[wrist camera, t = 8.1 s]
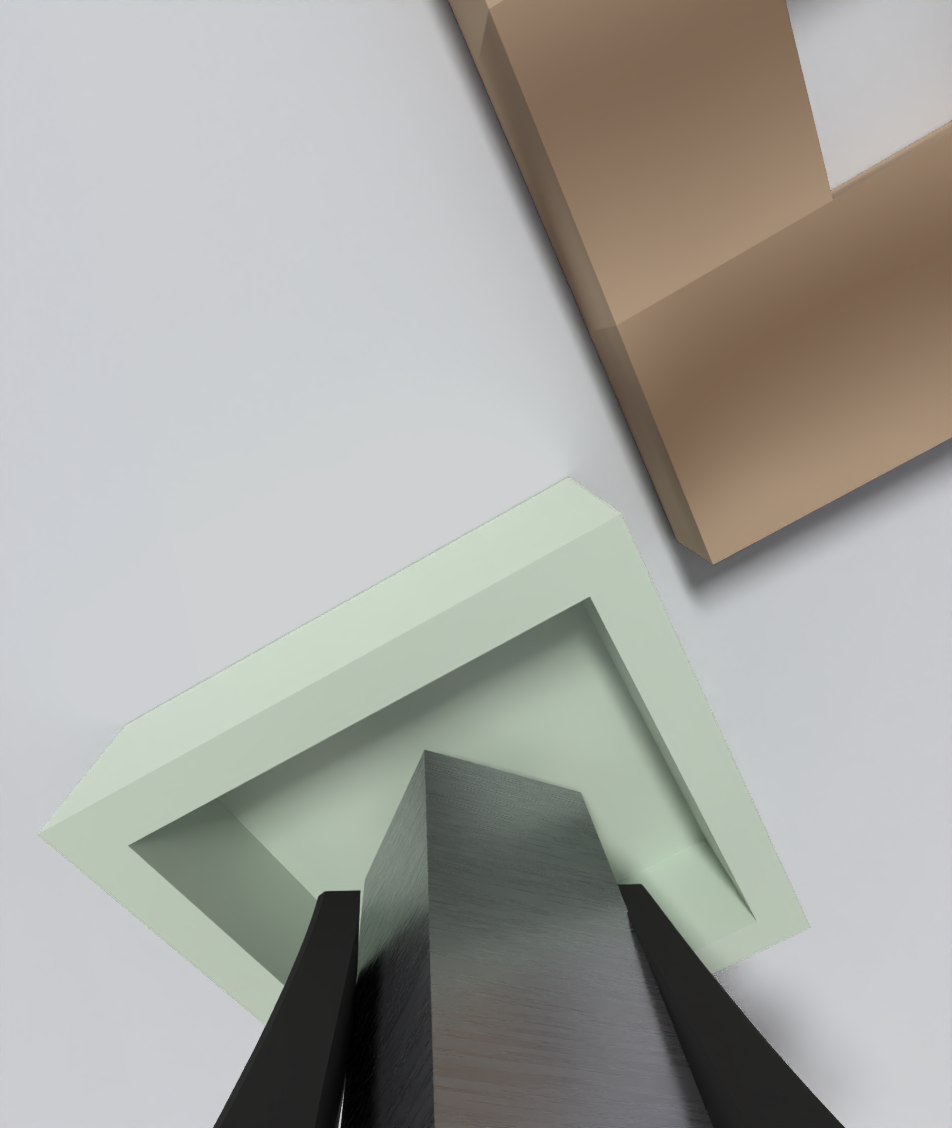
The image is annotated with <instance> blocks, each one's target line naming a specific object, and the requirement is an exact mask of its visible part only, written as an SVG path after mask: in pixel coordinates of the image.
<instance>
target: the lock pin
mask: <svg viewBox="0 0 952 1128" xmlns="http://www.w3.org/2000/svg"><path fill="white" fill-rule="evenodd" d="M627 912H628V910H627V908H626V905H625V903H624V900H623V898H622V895H621V892H620V890H619V887H618V885H617V882H616V880H615V877H614V875H613V872H612V870H611V867H610V865H609V862H608V860H607V857H606V854H605V852H604V849H603V847H602V844H601V842H600V839H599V837H598V834H597V832H596V829H595V827H594V824H593V822H592V819H591V816H590V814H589V811H588V809H587V806H586V804H585V801H584V799H583V796H582V794H581V792H578V791H574V790H570V789H567V788H563V787H559V786H556V785H552V784H548V783H545V782H541V781H537V780H534V779H530V778H526V777H523V776H519V775H516V774H512V773H508V772H505V771H501V770H497V769H494V768H490V767H486V766H483V765H479V764H475V763H472V762H468V761H464V760H461V759H457V758H454V757H450V756H446V755H443V754H439V753H435V752H432V751H428V750H424V752H423V754H422V756H421V758H420V760H419V762H418V765H417V767H416V769H415V771H414V773H413V775H412V778H411V780H410V782H409V784H408V786H407V788H406V791H405V793H404V795H403V797H402V799H401V802H400V804H399V806H398V808H397V810H396V812H395V815H394V817H393V819H392V821H391V823H390V825H389V828H388V830H387V832H386V834H385V836H384V838H383V841H382V843H381V845H380V847H379V849H378V851H377V854H376V856H375V858H374V860H373V862H372V865H371V867H370V869H369V871H368V873H367V875H366V878H365V882H364V892H363V903H362V913H361V923H360V933H359V945H358V971H357V983H356V994H355V1004H354V1015H353V1026H352V1036H351V1043H350V1050H349V1056H348V1063H347V1069H346V1078H345V1088H344V1099H343V1109H342V1119H341V1128H713V1126H712V1123H711V1121H710V1118H709V1116H708V1113H707V1111H706V1108H705V1105H704V1103H703V1100H702V1098H701V1095H700V1093H699V1090H698V1088H697V1085H696V1083H695V1080H694V1078H693V1075H692V1072H691V1070H690V1067H689V1065H688V1062H687V1060H686V1057H685V1055H684V1052H683V1050H682V1047H681V1045H680V1042H679V1040H678V1037H677V1034H676V1032H675V1029H674V1027H673V1024H672V1022H671V1019H670V1017H669V1014H668V1012H667V1009H666V1007H665V1004H664V1002H663V999H662V996H661V994H660V991H659V989H658V986H657V984H656V981H655V979H654V976H653V974H652V971H651V969H650V966H649V963H648V961H647V958H646V956H645V954H644V952H643V950H642V947H641V945H640V943H639V941H638V939H637V937H636V934H635V932H634V930H633V928H632V925H631V922H630V920H629V917H628V915H627Z"/></svg>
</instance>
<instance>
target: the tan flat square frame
mask: <svg viewBox="0 0 952 1128" xmlns="http://www.w3.org/2000/svg"><path fill="white" fill-rule="evenodd" d="M448 1H449V3H450V6H451V8H452V10H453V13H454V15H455V17H456V20H457V22H458V25H459V27H460V29H461V32H462V34H463V36H464V39H465V41H466V43H467V46H468V48H469V51H470V53H471V55H472V58H473V60H474V62H475V65H476V67H477V69H478V72H479V74H480V76H481V79H482V81H483V84H484V86H485V88H486V91H487V93H488V95H489V98H490V100H491V102H492V105H493V107H494V110H495V112H496V114H497V117H498V119H499V121H500V124H501V126H502V128H503V131H504V133H505V136H506V138H507V140H508V143H509V145H510V147H511V150H512V152H513V154H514V157H515V159H516V161H517V164H518V166H519V169H520V171H521V173H522V176H523V178H524V180H525V183H526V185H527V187H528V190H529V192H530V195H531V197H532V199H533V202H534V204H535V206H536V209H537V211H538V213H539V216H540V218H541V220H542V223H543V225H544V228H545V230H546V232H547V235H548V237H549V239H550V242H551V244H552V246H553V249H554V251H555V254H556V256H557V258H558V261H559V263H560V265H561V268H562V270H563V272H564V275H565V277H566V279H567V282H568V284H569V287H570V289H571V291H572V294H573V296H574V298H575V301H576V303H577V305H578V308H579V310H580V313H581V315H582V317H583V320H584V322H585V324H586V327H587V329H588V331H589V334H590V336H591V338H592V341H593V343H594V346H595V348H596V350H597V353H598V355H599V357H600V360H601V362H602V364H603V367H604V369H605V372H606V374H607V376H608V379H609V381H610V383H611V386H612V388H613V390H614V393H615V395H616V398H617V400H618V402H619V405H620V407H621V409H622V412H623V414H624V416H625V419H626V421H627V423H628V426H629V428H630V431H631V433H632V435H633V438H634V440H635V442H636V445H637V447H638V449H639V452H640V454H641V457H642V459H643V461H644V464H645V466H646V468H647V471H648V473H649V475H650V478H651V480H652V482H653V485H654V487H655V490H656V492H657V494H658V497H659V499H660V501H661V504H662V506H663V508H664V511H665V513H666V516H667V518H668V520H669V523H670V525H671V527H672V530H673V532H674V534H675V537H676V539H677V541H678V542H679V543H680V544H682V545H683V546H685V547H687V548H688V549H690V550H691V551H693V552H694V553H696V554H697V555H699V556H700V557H702V558H703V559H705V560H706V561H708V562H709V563H711V564H712V565H714V564H716V563H718V562H719V561H721V560H723V559H725V558H727V557H729V556H731V555H733V554H734V553H736V552H738V551H740V550H742V549H744V548H746V547H747V546H749V545H751V544H753V543H755V542H757V541H759V540H761V539H762V538H764V537H766V536H768V535H770V534H772V533H774V532H776V531H777V530H779V529H781V528H783V527H785V526H787V525H789V524H791V523H792V522H794V521H796V520H798V519H800V518H802V517H804V516H806V515H807V514H809V513H811V512H813V511H815V510H817V509H819V508H821V507H822V506H824V505H826V504H828V503H830V502H832V501H834V500H836V499H837V498H839V497H841V496H843V495H845V494H847V493H849V492H851V491H852V490H854V489H856V488H858V487H860V486H862V485H864V484H865V483H867V482H869V481H871V480H873V479H875V478H877V477H879V476H880V475H882V474H884V473H886V472H888V471H890V470H892V469H894V468H895V467H897V466H899V465H901V464H903V463H905V462H907V461H909V460H910V459H912V458H914V457H916V456H918V455H920V454H922V453H924V452H925V451H927V450H929V449H931V448H933V447H935V446H937V445H939V444H940V443H942V442H944V441H946V440H948V439H950V438H952V121H950V122H948V123H947V124H945V125H943V126H942V127H940V128H938V129H936V130H935V131H933V132H931V133H929V134H928V135H926V136H924V137H923V138H921V139H919V140H917V141H916V142H914V143H912V144H911V145H909V146H907V147H905V148H904V149H902V150H900V151H898V152H897V153H895V154H893V155H892V156H890V157H888V158H886V159H885V160H883V161H881V162H880V163H878V164H876V165H874V166H873V167H871V168H869V169H867V170H866V171H864V172H862V173H861V174H859V175H857V176H855V177H854V178H852V179H850V180H849V181H847V182H845V183H843V184H842V185H840V186H838V187H836V188H835V189H833V190H830V186H829V182H828V178H827V173H826V169H825V165H824V161H823V157H822V152H821V148H820V144H819V140H818V136H817V131H816V127H815V123H814V119H813V115H812V111H811V106H810V102H809V98H808V94H807V90H806V85H805V81H804V77H803V73H802V69H801V65H800V60H799V56H798V52H797V48H796V44H795V39H794V35H793V31H792V27H791V23H790V18H789V14H788V10H787V6H786V2H785V0H448Z"/></svg>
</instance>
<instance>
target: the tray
mask: <svg viewBox="0 0 952 1128" xmlns="http://www.w3.org/2000/svg"><path fill="white" fill-rule="evenodd" d="M424 750H428V751H432V752H435V753H439V754H443V755H446V756H450V757H454V758H457V759H461V760H464V761H468V762H472V763H475V764H479V765H483V766H486V767H490V768H494V769H497V770H501V771H505V772H508V773H512V774H516V775H519V776H523V777H526V778H530V779H534V780H537V781H541V782H545V783H548V784H552V785H556V786H559V787H563V788H567V789H570V790H574V791H578V792H581V794H582V796H583V799H584V801H585V804H586V806H587V809H588V811H589V814H590V816H591V819H592V822H593V824H594V827H595V829H596V832H597V834H598V837H599V839H600V842H601V844H602V847H603V849H604V852H605V854H606V857H607V860H608V862H609V865H610V867H611V870H612V872H613V875H614V877H615V880H616V882H617V884H642V885H643V886H644V887H645V888H646V890H647V891H648V892H649V894H650V895H651V896H652V897H653V899H654V900H655V901H656V903H657V904H658V905H659V907H660V908H661V909H662V911H663V912H664V913H665V915H666V916H667V917H668V919H669V920H670V921H671V922H672V924H673V925H674V926H675V928H676V929H677V930H678V932H679V933H680V934H681V936H682V937H683V938H684V939H685V941H686V942H687V943H688V945H689V946H690V947H691V948H692V950H693V951H694V952H695V954H696V955H697V956H698V957H699V959H700V960H701V961H702V963H703V964H704V965H705V966H706V968H707V969H708V970H709V971H710V973H711V974H713V973H716V972H718V971H720V970H722V969H724V968H726V967H728V966H730V965H733V964H735V963H737V962H739V961H741V960H743V959H745V958H747V957H750V956H752V955H754V954H756V953H758V952H760V951H762V950H764V949H767V948H769V947H771V946H773V945H775V944H777V943H779V942H781V941H783V940H786V939H788V938H790V937H792V936H794V935H796V934H798V933H800V932H803V931H805V930H807V929H809V928H811V927H810V925H809V922H808V920H807V918H806V916H805V914H804V911H803V909H802V907H801V905H800V903H799V900H798V898H797V896H796V894H795V892H794V890H793V887H792V885H791V883H790V881H789V879H788V876H787V874H786V872H785V870H784V868H783V865H782V863H781V861H780V859H779V857H778V855H777V852H776V850H775V848H774V846H773V844H772V841H771V839H770V837H769V835H768V833H767V830H766V828H765V826H764V824H763V822H762V820H761V817H760V815H759V813H758V811H757V809H756V806H755V804H754V802H753V800H752V798H751V795H750V793H749V791H748V789H747V787H746V785H745V782H744V780H743V778H742V776H741V774H740V771H739V769H738V767H737V765H736V763H735V761H734V758H733V756H732V754H731V752H730V750H729V747H728V745H727V743H726V741H725V739H724V736H723V734H722V732H721V730H720V728H719V726H718V723H717V721H716V719H715V717H714V715H713V712H712V710H711V708H710V706H709V704H708V701H707V699H706V697H705V695H704V693H703V691H702V688H701V686H700V684H699V682H698V680H697V677H696V675H695V673H694V671H693V669H692V666H691V664H690V662H689V660H688V658H687V656H686V653H685V651H684V649H683V647H682V645H681V642H680V640H679V638H678V636H677V634H676V631H675V629H674V627H673V625H672V623H671V621H670V618H669V616H668V614H667V612H666V610H665V607H664V605H663V603H662V601H661V599H660V596H659V594H658V592H657V590H656V588H655V586H654V583H653V581H652V579H651V577H650V575H649V572H648V570H647V568H646V566H645V564H644V562H643V559H642V557H641V555H640V553H639V551H638V548H637V546H636V544H635V542H634V540H633V537H632V535H631V533H630V531H629V529H628V527H627V524H626V522H625V520H624V518H623V516H622V514H621V513H620V512H619V511H617V510H616V509H614V508H613V507H611V506H610V505H609V504H607V503H606V502H604V501H603V500H601V499H600V498H599V497H597V496H596V495H594V494H593V493H591V492H590V491H589V490H587V489H586V488H584V487H583V486H581V485H580V484H579V483H577V482H576V481H574V480H573V479H571V478H570V477H568V478H566V479H564V480H562V481H561V482H559V483H557V484H555V485H554V486H552V487H550V488H548V489H546V490H545V491H543V492H541V493H539V494H537V495H536V496H534V497H532V498H530V499H529V500H527V501H525V502H523V503H521V504H520V505H518V506H516V507H514V508H512V509H511V510H509V511H507V512H505V513H504V514H502V515H500V516H498V517H496V518H495V519H493V520H491V521H489V522H487V523H486V524H484V525H482V526H480V527H478V528H477V529H475V530H473V531H471V532H470V533H468V534H466V535H464V536H462V537H461V538H459V539H457V540H455V541H453V542H452V543H450V544H448V545H446V546H445V547H443V548H441V549H439V550H437V551H436V552H434V553H432V554H430V555H428V556H427V557H425V558H423V559H421V560H420V561H418V562H416V563H414V564H412V565H411V566H409V567H407V568H405V569H403V570H402V571H400V572H398V573H396V574H395V575H393V576H391V577H389V578H387V579H386V580H384V581H382V582H380V583H378V584H377V585H375V586H373V587H371V588H370V589H368V590H366V591H364V592H362V593H361V594H359V595H357V596H355V597H353V598H352V599H350V600H348V601H346V602H345V603H343V604H341V605H339V606H337V607H336V608H334V609H332V610H330V611H328V612H327V613H325V614H323V615H321V616H319V617H318V618H316V619H314V620H312V621H311V622H309V623H307V624H305V625H303V626H302V627H300V628H298V629H296V630H294V631H293V632H291V633H289V634H287V635H286V636H284V637H282V638H280V639H278V640H277V641H275V642H273V643H271V644H269V645H268V646H266V647H264V648H262V649H261V650H259V651H257V652H255V653H253V654H252V655H250V656H248V657H246V658H244V659H243V660H241V661H239V662H237V663H236V664H234V665H232V666H230V667H228V668H227V669H225V670H223V671H221V672H219V673H218V674H216V675H214V676H212V677H211V678H209V679H207V680H205V681H203V682H202V683H200V684H198V685H196V686H194V687H193V688H191V689H189V690H187V691H186V692H184V693H182V694H180V695H178V696H177V697H175V698H173V699H171V700H169V701H168V702H166V703H164V704H162V705H160V706H159V707H157V708H155V709H153V710H152V711H150V712H148V713H146V714H144V715H143V716H141V717H139V718H137V719H135V720H134V721H132V722H130V723H128V724H127V725H126V726H125V727H124V728H123V729H122V730H121V732H120V733H119V734H118V735H117V737H116V738H115V739H114V740H113V742H112V743H111V744H110V745H109V747H108V748H107V749H106V750H105V751H104V753H103V754H102V755H101V756H100V758H99V759H98V760H97V761H96V763H95V764H94V765H93V766H92V768H91V769H90V770H89V771H88V773H87V774H86V775H85V776H84V777H83V779H82V780H81V781H80V782H79V784H78V785H77V786H76V787H75V789H74V790H73V791H72V792H71V794H70V795H69V796H68V797H67V798H66V800H65V801H64V802H63V803H62V805H61V806H60V807H59V808H58V810H57V811H56V812H55V813H54V815H53V816H52V817H51V818H50V819H49V821H48V822H47V823H46V824H45V826H44V827H43V828H42V829H41V831H40V832H39V833H38V834H37V835H38V836H39V837H41V838H42V839H43V840H44V841H45V842H46V843H48V844H49V845H50V846H51V847H52V848H54V849H55V850H56V851H57V852H58V853H60V854H61V855H62V856H63V857H64V858H66V859H67V860H68V861H69V862H70V863H72V864H73V865H74V866H75V867H76V868H78V869H79V870H80V871H81V872H82V873H84V874H85V875H86V876H87V877H88V878H90V879H91V880H92V881H93V882H94V883H96V884H97V885H98V886H99V887H100V888H101V889H103V890H104V891H105V892H106V893H107V894H109V895H110V896H111V897H112V898H113V899H115V900H116V901H117V902H118V903H119V904H121V905H122V906H123V907H124V908H125V909H127V910H128V911H129V912H130V913H131V914H133V915H134V916H135V917H136V918H137V919H139V920H140V921H141V922H142V923H143V924H145V925H146V926H147V927H148V928H149V929H151V930H152V931H153V932H154V933H155V934H157V935H158V936H159V937H160V938H161V939H162V940H164V941H165V942H166V943H167V944H168V945H170V946H171V947H172V948H173V949H174V950H176V951H177V952H178V953H179V954H180V955H182V956H183V957H184V958H185V959H186V960H188V961H189V962H190V963H191V964H192V965H194V966H195V967H196V968H197V969H198V970H200V971H201V972H202V973H203V974H204V975H206V976H207V977H208V978H209V979H210V980H212V981H213V982H214V983H215V984H216V985H218V986H219V987H220V988H221V989H222V990H223V991H225V992H226V993H227V994H228V995H229V996H231V997H232V998H233V999H234V1000H235V1001H237V1002H238V1003H239V1004H240V1005H241V1006H243V1007H244V1008H245V1009H246V1010H247V1011H249V1012H250V1013H251V1014H252V1015H253V1016H255V1017H256V1018H257V1019H258V1020H259V1021H261V1022H262V1023H263V1024H264V1025H265V1026H266V1024H267V1022H268V1020H269V1017H270V1015H271V1013H272V1011H273V1009H274V1007H275V1005H276V1002H277V1000H278V998H279V996H280V994H281V992H282V990H283V987H284V985H285V983H286V981H287V978H288V976H289V974H290V971H291V969H292V967H293V964H294V962H295V960H296V957H297V955H298V953H299V950H300V947H301V945H302V942H303V940H304V937H305V935H306V932H307V929H308V926H309V924H310V921H311V918H312V915H313V912H314V909H315V905H316V902H317V899H318V896H319V895H320V894H322V893H323V892H324V891H349V890H361V893H360V919H359V933H360V923H361V913H362V903H363V892H364V882H365V878H366V875H367V873H368V871H369V869H370V867H371V865H372V862H373V860H374V858H375V856H376V854H377V851H378V849H379V847H380V845H381V843H382V841H383V838H384V836H385V834H386V832H387V830H388V828H389V825H390V823H391V821H392V819H393V817H394V815H395V812H396V810H397V808H398V806H399V804H400V802H401V799H402V797H403V795H404V793H405V791H406V788H407V786H408V784H409V782H410V780H411V778H412V775H413V773H414V771H415V769H416V767H417V765H418V762H419V760H420V758H421V756H422V754H423V752H424Z"/></svg>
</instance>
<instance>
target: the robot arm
mask: <svg viewBox="0 0 952 1128" xmlns="http://www.w3.org/2000/svg"><path fill="white" fill-rule="evenodd" d="M617 885H618V887H619V890H620V892H621V895H622V898H623V900H624V903H625V905H626V908H627V910H628V912H627V915H628V917H629V920H630V922H631V925H632V928H633V930H634V932H635V934H636V937H637V939H638V941H639V943H640V945H641V947H642V950H643V952H644V954H645V956H646V958H647V961H648V963H649V966H650V969H651V971H652V974H653V976H654V979H655V981H656V984H657V986H658V989H659V991H660V994H661V996H662V999H663V1002H664V1004H665V1007H666V1009H667V1012H668V1014H669V1017H670V1019H671V1022H672V1024H673V1027H674V1029H675V1032H676V1034H677V1037H678V1040H679V1042H680V1045H681V1047H682V1050H683V1052H684V1055H685V1057H686V1060H687V1062H688V1065H689V1067H690V1070H691V1072H692V1075H693V1078H694V1080H695V1083H696V1085H697V1088H698V1090H699V1093H700V1095H701V1098H702V1100H703V1103H704V1105H705V1108H706V1111H707V1113H708V1116H709V1118H710V1121H711V1123H712V1126H713V1128H845V1127H844V1126H843V1125H842V1124H841V1123H840V1122H839V1121H838V1120H837V1119H836V1118H835V1117H834V1116H833V1114H832V1113H831V1112H830V1111H829V1110H828V1109H827V1108H826V1107H825V1106H824V1105H823V1104H822V1103H821V1102H820V1100H819V1099H818V1098H817V1097H816V1096H815V1095H814V1094H813V1093H812V1092H811V1091H810V1089H809V1088H808V1087H807V1086H806V1085H805V1084H804V1083H803V1082H802V1081H801V1079H800V1078H799V1077H798V1076H797V1075H796V1074H795V1073H794V1072H793V1070H792V1069H791V1068H790V1067H789V1066H788V1065H787V1064H786V1062H785V1061H784V1060H783V1059H782V1058H781V1057H780V1056H779V1054H778V1053H777V1052H776V1051H775V1050H774V1049H773V1048H772V1047H771V1045H770V1044H769V1043H768V1042H767V1041H766V1039H765V1038H764V1037H763V1036H762V1035H761V1034H760V1032H759V1031H758V1030H757V1029H756V1028H755V1027H754V1025H753V1024H752V1023H751V1022H750V1021H749V1019H748V1018H747V1017H746V1016H745V1014H744V1013H743V1012H742V1011H741V1010H740V1008H739V1007H738V1006H737V1005H736V1003H735V1002H734V1001H733V1000H732V999H731V997H730V996H729V995H728V994H727V993H726V991H725V990H724V989H723V988H722V986H721V985H720V984H719V983H718V982H717V980H716V979H715V978H714V976H713V975H712V974H711V973H710V971H709V970H708V969H707V968H706V966H705V965H704V964H703V963H702V961H701V960H700V959H699V957H698V956H697V955H696V954H695V952H694V951H693V950H692V948H691V947H690V946H689V945H688V943H687V942H686V941H685V939H684V938H683V937H682V936H681V934H680V933H679V932H678V930H677V929H676V928H675V926H674V925H673V924H672V922H671V921H670V920H669V919H668V917H667V916H666V915H665V913H664V912H663V911H662V909H661V908H660V907H659V905H658V904H657V903H656V901H655V900H654V899H653V897H652V896H651V895H650V894H649V892H648V891H647V890H646V888H645V887H644V886H643V885H642V884H617ZM360 893H361V890H349V891H324V892H323V893H322V894H320V895H319V896H318V899H317V902H316V905H315V909H314V912H313V915H312V918H311V921H310V924H309V926H308V929H307V932H306V935H305V937H304V940H303V942H302V945H301V947H300V950H299V953H298V955H297V957H296V960H295V962H294V964H293V967H292V969H291V971H290V974H289V976H288V978H287V981H286V983H285V985H284V987H283V990H282V992H281V994H280V996H279V998H278V1000H277V1002H276V1005H275V1007H274V1009H273V1011H272V1013H271V1015H270V1017H269V1020H268V1022H267V1024H266V1026H265V1028H264V1030H263V1032H262V1034H261V1037H260V1039H259V1041H258V1043H257V1045H256V1047H255V1049H254V1051H253V1053H252V1055H251V1057H250V1058H249V1060H248V1062H247V1064H246V1066H245V1068H244V1070H243V1072H242V1074H241V1076H240V1078H239V1080H238V1081H237V1083H236V1085H235V1087H234V1089H233V1091H232V1093H231V1095H230V1097H229V1099H228V1101H227V1103H226V1104H225V1106H224V1108H223V1110H222V1112H221V1114H220V1116H219V1118H218V1120H217V1121H216V1123H215V1125H214V1127H213V1128H338V1125H339V1119H340V1113H341V1106H342V1100H343V1094H344V1088H345V1078H346V1069H347V1063H348V1056H349V1050H350V1043H351V1036H352V1026H353V1015H354V1004H355V994H356V983H357V971H358V945H359V919H360Z"/></svg>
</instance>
